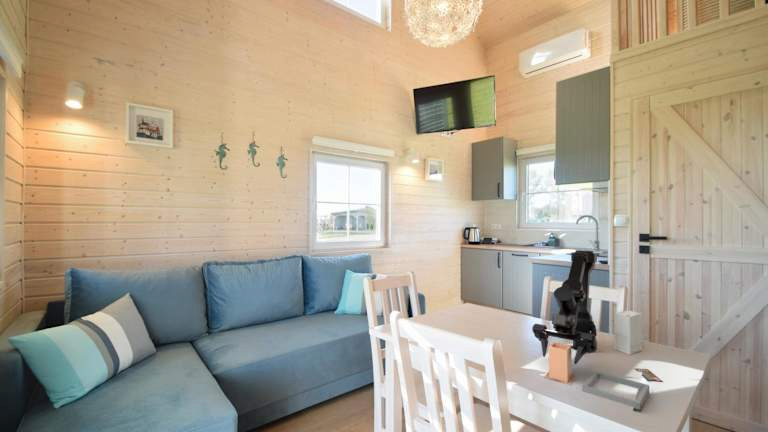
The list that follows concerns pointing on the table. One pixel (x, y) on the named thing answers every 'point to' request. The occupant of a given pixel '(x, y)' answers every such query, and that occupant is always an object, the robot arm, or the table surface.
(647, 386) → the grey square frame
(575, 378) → the stake block
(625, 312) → the skincare box
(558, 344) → the sleeve
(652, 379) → the chocolate bar
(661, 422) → the table surface
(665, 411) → the table surface
